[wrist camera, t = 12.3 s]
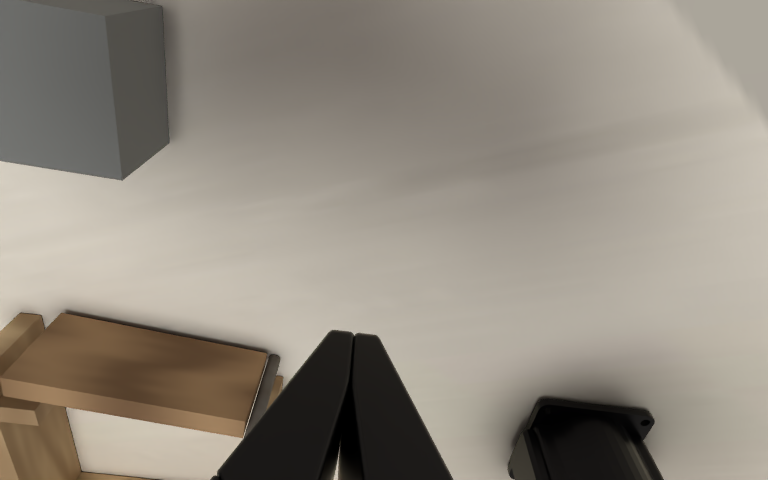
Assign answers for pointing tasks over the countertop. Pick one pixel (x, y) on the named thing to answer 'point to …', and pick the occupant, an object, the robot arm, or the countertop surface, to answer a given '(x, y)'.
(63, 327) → the gate
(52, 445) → the corral
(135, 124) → the block
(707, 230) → the countertop surface
